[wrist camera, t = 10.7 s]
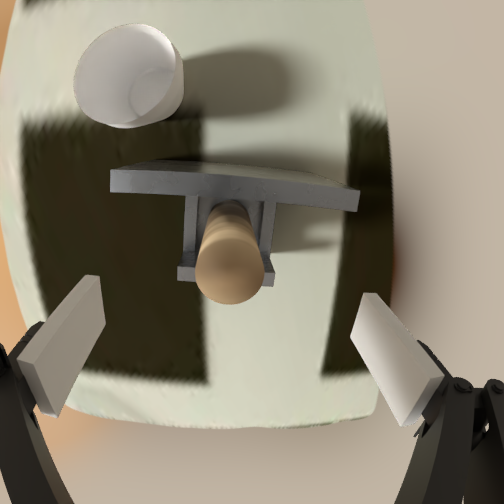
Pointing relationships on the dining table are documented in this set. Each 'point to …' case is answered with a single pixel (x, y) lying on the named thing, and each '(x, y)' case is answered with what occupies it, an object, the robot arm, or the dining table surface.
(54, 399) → the robot arm
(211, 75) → the dining table surface
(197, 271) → the wooden dowel
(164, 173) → the bracket
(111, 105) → the cup
